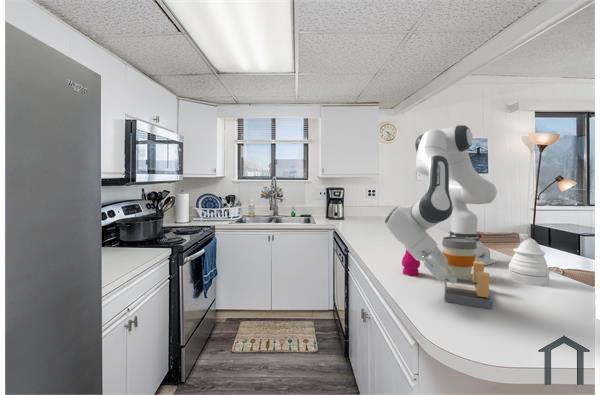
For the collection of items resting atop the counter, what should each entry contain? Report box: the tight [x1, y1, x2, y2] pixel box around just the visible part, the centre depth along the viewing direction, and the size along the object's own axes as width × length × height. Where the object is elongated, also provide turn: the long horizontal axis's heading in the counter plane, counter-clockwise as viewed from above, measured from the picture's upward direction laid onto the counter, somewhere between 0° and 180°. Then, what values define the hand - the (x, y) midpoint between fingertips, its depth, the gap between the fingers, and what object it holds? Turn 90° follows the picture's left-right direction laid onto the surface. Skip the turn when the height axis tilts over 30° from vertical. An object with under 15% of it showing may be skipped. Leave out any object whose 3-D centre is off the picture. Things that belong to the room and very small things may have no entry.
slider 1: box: [472, 261, 485, 283], centre depth 109 cm, size 3×3×7 cm
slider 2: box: [476, 271, 490, 298], centre depth 96 cm, size 3×3×7 cm
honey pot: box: [507, 233, 550, 287], centre depth 120 cm, size 13×13×18 cm
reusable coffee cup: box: [441, 236, 477, 280], centre depth 125 cm, size 12×13×15 cm
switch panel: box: [444, 278, 494, 310], centre depth 104 cm, size 13×20×3 cm, turn 155°
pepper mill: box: [401, 248, 421, 277], centre depth 126 cm, size 7×7×20 cm
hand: (455, 281), depth 99 cm, fingers closed
